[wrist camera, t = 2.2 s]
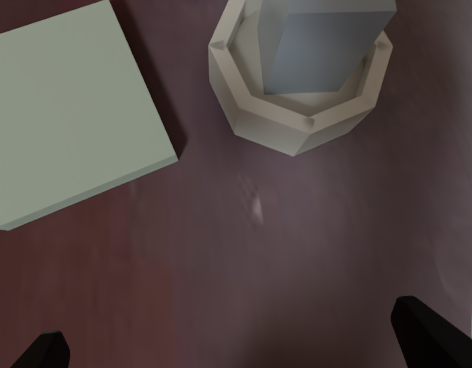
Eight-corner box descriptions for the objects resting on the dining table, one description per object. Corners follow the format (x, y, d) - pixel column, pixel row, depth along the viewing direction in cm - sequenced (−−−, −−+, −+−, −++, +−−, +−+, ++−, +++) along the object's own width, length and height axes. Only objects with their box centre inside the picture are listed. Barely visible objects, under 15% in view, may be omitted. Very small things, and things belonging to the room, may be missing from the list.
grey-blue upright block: (337, 91, 22) (397, 10, 15) (264, 94, 22) (288, 13, 15) (327, 26, 24) (378, -79, 16) (257, 28, 23) (276, -79, 16)
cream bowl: (383, 117, 26) (418, 88, 21) (253, 174, 24) (261, 155, 20) (317, 1, 27) (337, -47, 23) (192, 47, 26) (188, 3, 21)
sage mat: (178, 160, 24) (176, 154, 22) (8, 230, 22) (-7, 228, 21) (114, 13, 26) (108, -2, 25) (-45, 66, 24) (-62, 53, 23)
